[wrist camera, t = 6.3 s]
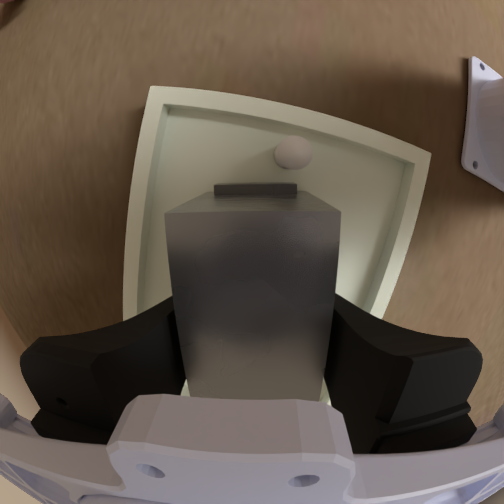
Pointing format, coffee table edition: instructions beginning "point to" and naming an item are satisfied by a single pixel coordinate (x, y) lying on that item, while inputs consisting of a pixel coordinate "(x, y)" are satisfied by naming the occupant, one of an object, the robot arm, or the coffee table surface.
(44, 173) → the coffee table surface
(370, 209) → the pin tray
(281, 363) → the block
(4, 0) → the pink toy car
